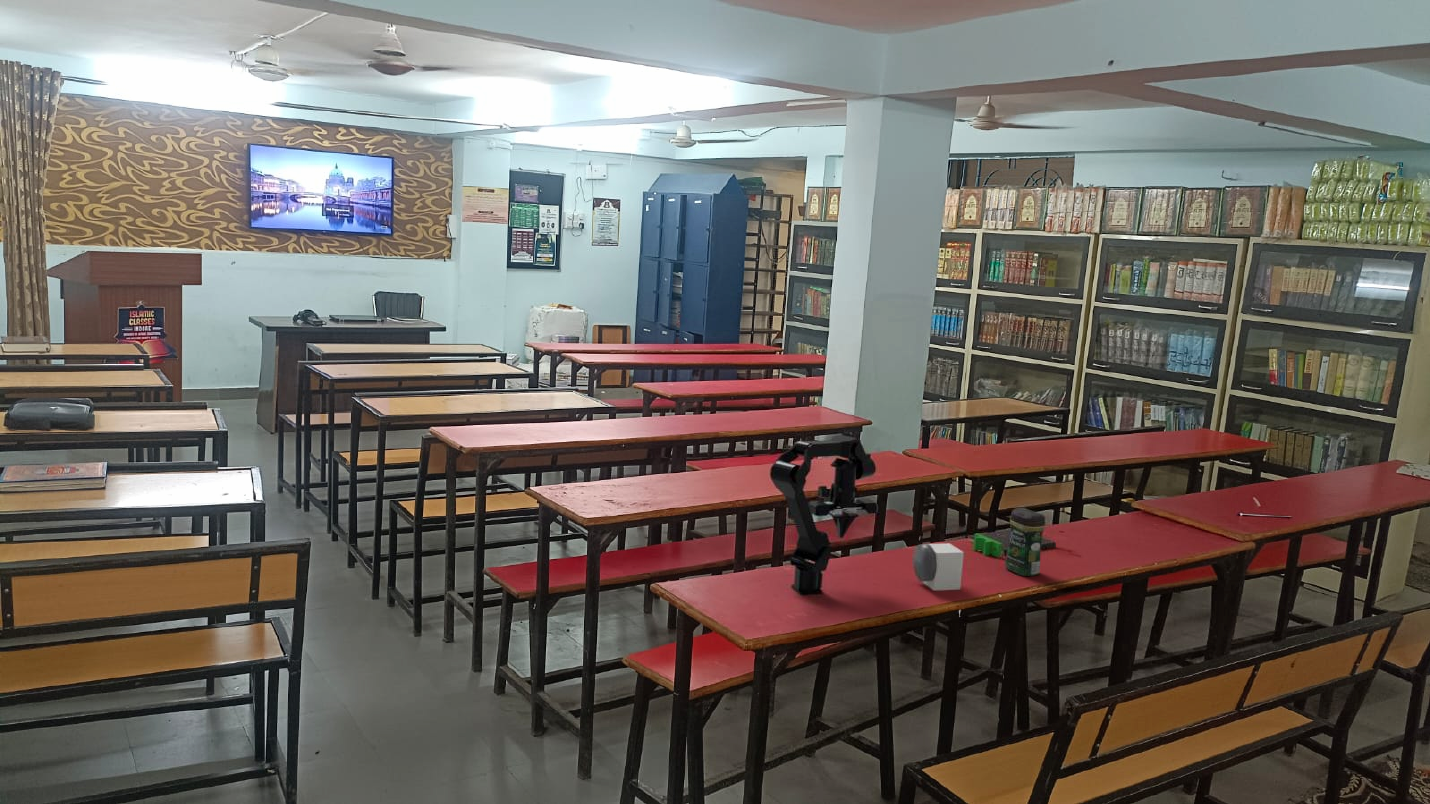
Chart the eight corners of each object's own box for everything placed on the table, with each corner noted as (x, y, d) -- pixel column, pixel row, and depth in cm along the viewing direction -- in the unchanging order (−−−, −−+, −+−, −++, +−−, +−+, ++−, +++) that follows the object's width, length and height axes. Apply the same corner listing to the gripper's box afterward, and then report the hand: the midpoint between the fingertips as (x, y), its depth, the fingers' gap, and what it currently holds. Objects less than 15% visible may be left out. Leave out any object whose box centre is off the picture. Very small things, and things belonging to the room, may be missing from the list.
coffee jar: (999, 567, 289) (1006, 506, 286) (1020, 565, 292) (1026, 504, 289) (1023, 578, 280) (1030, 515, 277) (1044, 575, 284) (1051, 513, 281)
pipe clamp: (966, 548, 307) (968, 534, 307) (976, 547, 309) (977, 533, 308) (991, 559, 297) (992, 544, 297) (1000, 557, 299) (1002, 543, 298)
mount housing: (933, 590, 266) (937, 553, 264) (920, 580, 274) (923, 544, 272) (960, 589, 268) (963, 552, 266) (946, 579, 276) (949, 543, 274)
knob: (928, 586, 264) (931, 551, 263) (911, 574, 274) (914, 539, 272) (951, 585, 266) (955, 550, 264) (934, 573, 275) (937, 539, 274)
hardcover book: (966, 542, 315) (967, 535, 314) (1017, 535, 326) (1018, 528, 326) (1003, 557, 301) (1004, 550, 301) (1055, 549, 313) (1056, 542, 312)
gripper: (861, 474, 277) (857, 527, 279) (801, 476, 270) (797, 530, 273) (880, 483, 266) (876, 539, 269) (818, 486, 260) (814, 542, 262)
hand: (840, 537), depth 268 cm, fingers closed
